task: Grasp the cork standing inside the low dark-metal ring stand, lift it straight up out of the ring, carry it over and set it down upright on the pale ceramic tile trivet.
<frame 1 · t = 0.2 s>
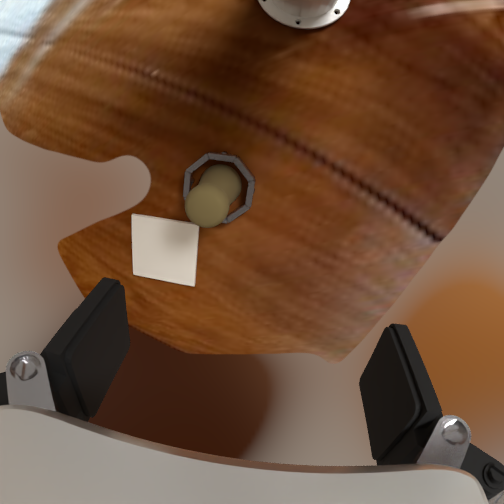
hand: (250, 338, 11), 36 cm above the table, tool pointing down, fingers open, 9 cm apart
tile trivet: (164, 250, 51), on the table
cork: (220, 184, 46), resting in ring stand
ring stand: (220, 184, 45), on the table
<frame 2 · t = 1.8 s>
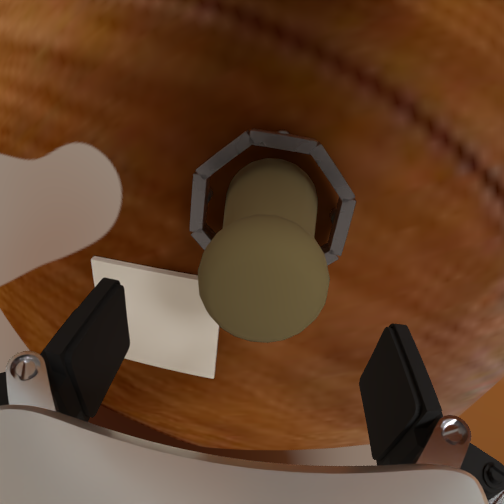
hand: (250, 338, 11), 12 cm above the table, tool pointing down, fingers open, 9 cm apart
tile trivet: (156, 321, 27), on the table
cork: (271, 202, 21), resting in ring stand
ring stand: (271, 203, 21), on the table
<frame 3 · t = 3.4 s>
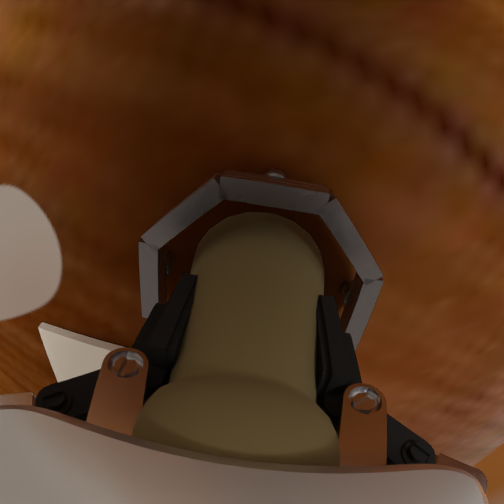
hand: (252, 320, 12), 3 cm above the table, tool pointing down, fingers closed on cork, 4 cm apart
tile trivet: (123, 396, 20), on the table
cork: (258, 272, 15), resting in ring stand, touching gripper
ring stand: (258, 275, 15), on the table
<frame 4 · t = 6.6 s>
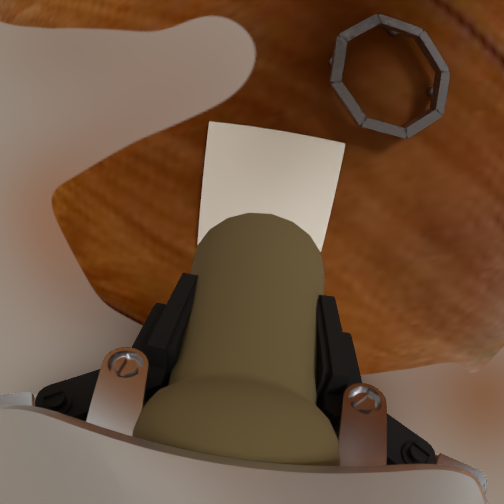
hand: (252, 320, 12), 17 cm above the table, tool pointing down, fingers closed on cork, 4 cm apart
tile trivet: (267, 193, 27), on the table
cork: (257, 273, 15), point 14 cm above the table, touching gripper
ring stand: (385, 76, 22), on the table
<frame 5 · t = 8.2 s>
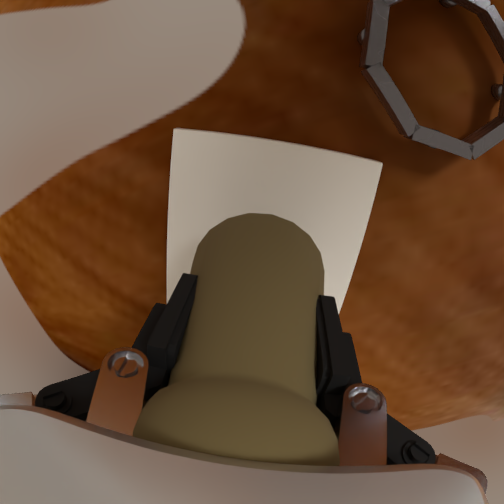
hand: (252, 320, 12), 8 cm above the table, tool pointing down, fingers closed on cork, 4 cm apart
tile trivet: (263, 236, 19), on the table
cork: (257, 273, 15), point 4 cm above the table, touching gripper
ring stand: (439, 64, 13), on the table
when the fingers open (5 cm above the table, at t = 9.5 s): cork drops 1 cm, resting on tile trivet.
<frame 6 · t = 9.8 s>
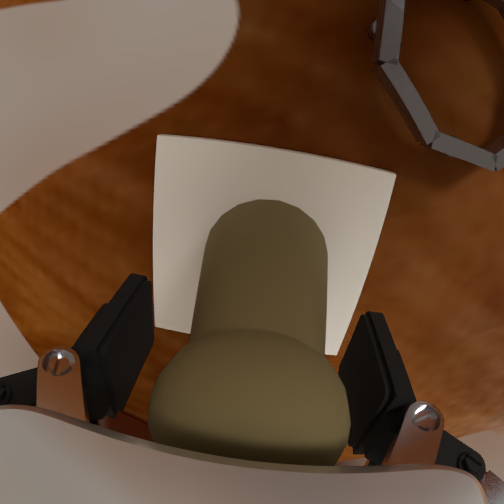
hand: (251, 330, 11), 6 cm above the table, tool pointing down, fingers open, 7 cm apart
tile trivet: (260, 256, 16), on the table
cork: (266, 256, 16), resting on tile trivet
ring stand: (458, 62, 11), on the table
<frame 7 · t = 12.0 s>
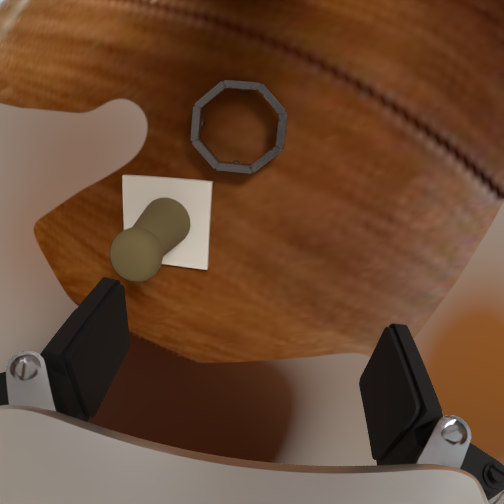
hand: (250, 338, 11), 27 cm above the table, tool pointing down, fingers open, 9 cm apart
tile trivet: (165, 221, 38), on the table
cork: (166, 221, 38), resting on tile trivet
ring stand: (240, 125, 33), on the table
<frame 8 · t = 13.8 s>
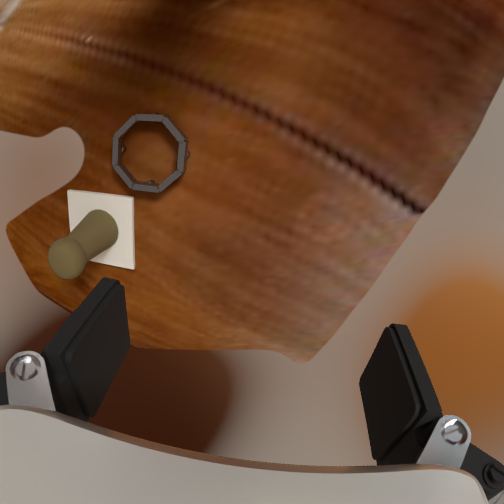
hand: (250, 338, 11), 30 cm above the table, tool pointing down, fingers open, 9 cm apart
tile trivet: (101, 228, 44), on the table
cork: (101, 228, 43), resting on tile trivet
ring stand: (153, 150, 38), on the table
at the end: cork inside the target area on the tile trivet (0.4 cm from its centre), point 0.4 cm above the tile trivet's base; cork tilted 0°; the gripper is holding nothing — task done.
